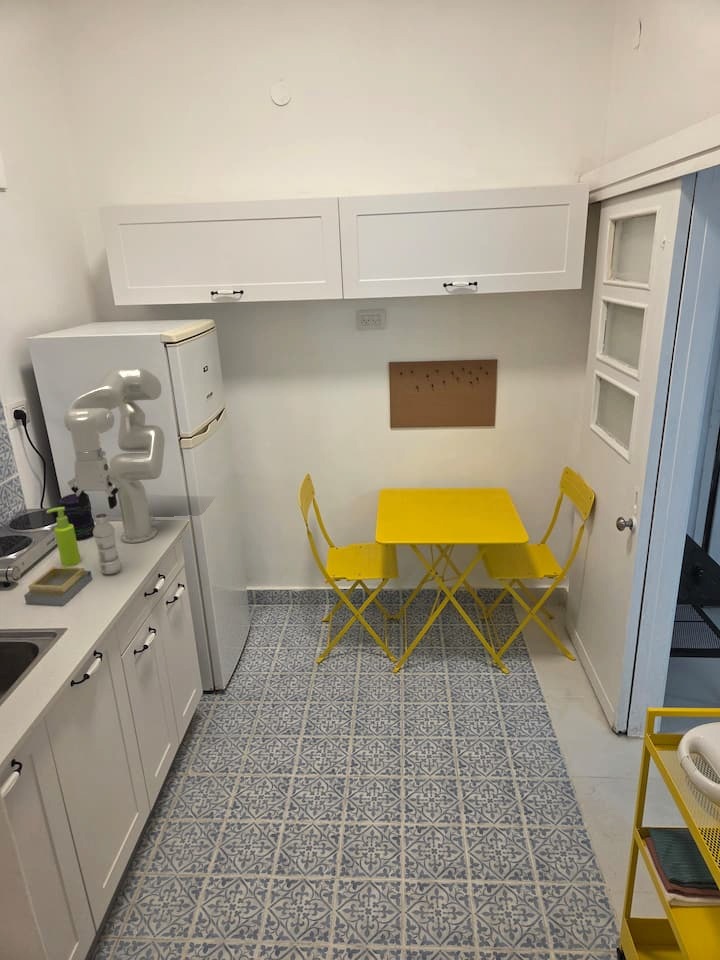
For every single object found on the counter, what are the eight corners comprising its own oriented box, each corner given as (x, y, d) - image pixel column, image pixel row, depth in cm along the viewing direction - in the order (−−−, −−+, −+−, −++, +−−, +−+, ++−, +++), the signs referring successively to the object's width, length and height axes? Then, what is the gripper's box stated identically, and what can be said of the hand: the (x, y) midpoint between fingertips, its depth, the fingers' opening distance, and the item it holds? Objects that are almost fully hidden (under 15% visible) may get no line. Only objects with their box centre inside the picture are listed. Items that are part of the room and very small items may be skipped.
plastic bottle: (115, 577, 200) (104, 520, 193) (96, 576, 202) (85, 519, 195) (126, 568, 206) (116, 512, 199) (108, 566, 208) (97, 511, 201)
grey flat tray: (57, 577, 202) (54, 563, 200) (92, 579, 200) (89, 565, 198) (26, 604, 187) (22, 589, 185) (63, 605, 185) (59, 591, 183)
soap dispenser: (58, 561, 212) (46, 507, 205) (80, 557, 215) (69, 503, 208) (58, 568, 207) (45, 513, 200) (80, 564, 210) (69, 509, 203)
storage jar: (101, 530, 235) (94, 493, 230) (85, 542, 226) (77, 504, 221) (78, 528, 237) (71, 492, 232) (61, 540, 228) (53, 502, 223)
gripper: (121, 451, 192) (130, 503, 198) (69, 450, 195) (80, 501, 200) (109, 459, 185) (118, 512, 191) (55, 458, 188) (66, 510, 193)
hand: (98, 506), depth 196 cm, fingers open, 9 cm apart
